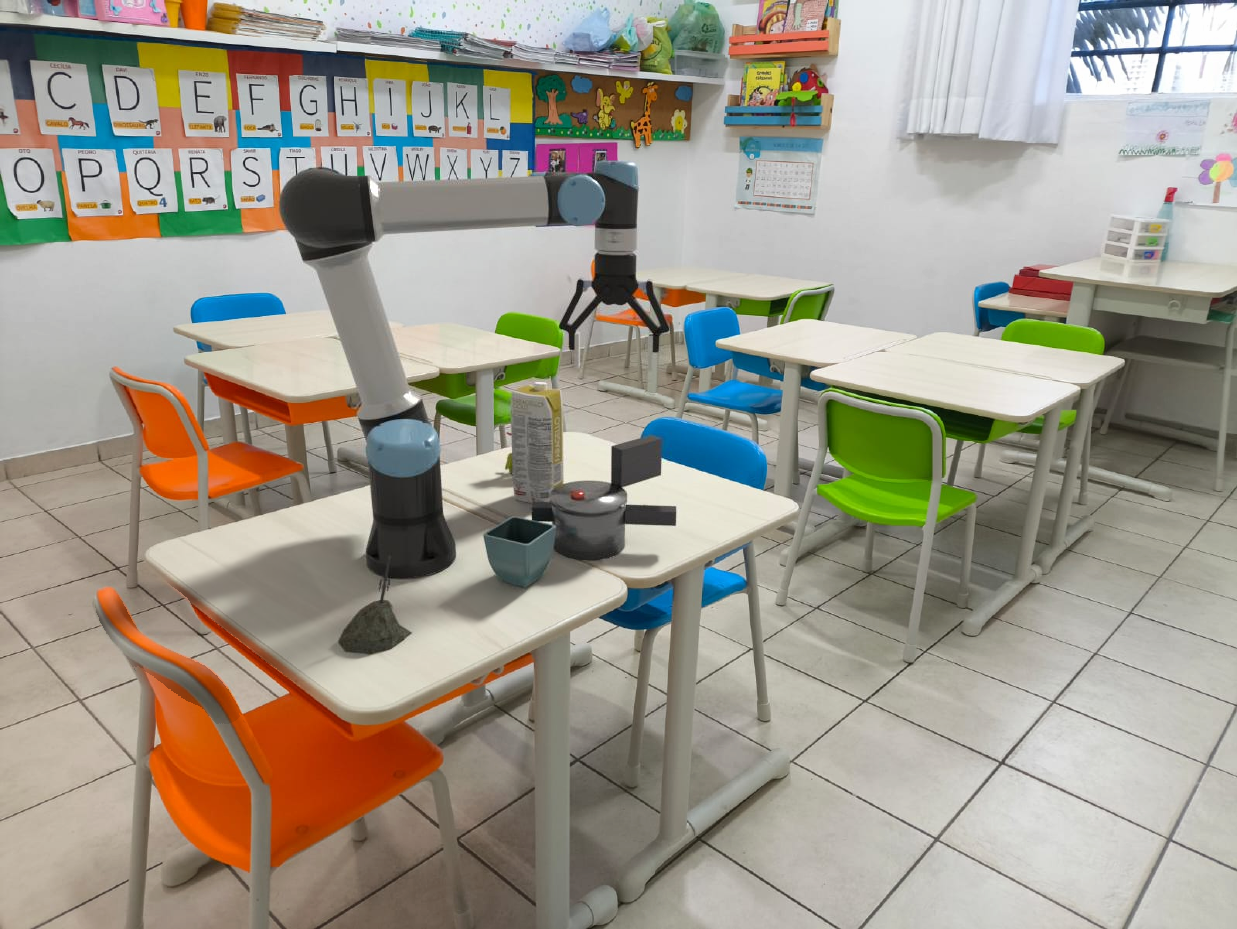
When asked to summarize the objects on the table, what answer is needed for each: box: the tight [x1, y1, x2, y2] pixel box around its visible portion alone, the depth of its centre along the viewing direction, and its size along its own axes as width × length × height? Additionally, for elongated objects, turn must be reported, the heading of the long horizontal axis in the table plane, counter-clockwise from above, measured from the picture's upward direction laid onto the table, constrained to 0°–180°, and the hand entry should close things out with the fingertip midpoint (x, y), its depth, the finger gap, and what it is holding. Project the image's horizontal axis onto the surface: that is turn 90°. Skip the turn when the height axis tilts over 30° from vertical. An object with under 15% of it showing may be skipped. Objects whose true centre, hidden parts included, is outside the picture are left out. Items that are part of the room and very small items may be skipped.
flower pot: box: [482, 515, 556, 588], centre depth 143 cm, size 9×9×9 cm
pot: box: [531, 502, 677, 562], centre depth 156 cm, size 26×13×8 cm, turn 87°
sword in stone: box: [337, 556, 413, 655], centre depth 125 cm, size 10×8×12 cm
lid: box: [550, 434, 663, 515], centre depth 156 cm, size 23×14×8 cm, turn 132°
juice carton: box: [510, 381, 565, 505], centre depth 173 cm, size 9×8×24 cm
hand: (613, 368), depth 163 cm, fingers open, 13 cm apart
